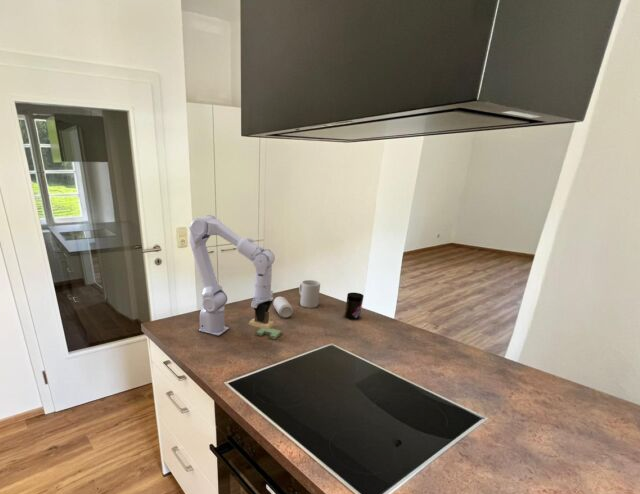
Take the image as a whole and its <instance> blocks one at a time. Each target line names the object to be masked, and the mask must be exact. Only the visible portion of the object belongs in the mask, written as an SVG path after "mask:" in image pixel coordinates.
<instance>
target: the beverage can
mask: <svg viewBox="0 0 640 494" xmlns="http://www.w3.org/2000/svg"><path fill="white" fill-rule="evenodd" d="M272 304H273V307H274V309H275V310H276V312H277V313H278V315H279V316H280V317H281V318H283V319H287V318H289V317H291V316H292V315H293V313H294V308H293V306H292V305H291V304H290V302H289V301H288V300H287V298H286V297H284V296H282V295H281V296H277V297H274V299H273V301H272Z"/></svg>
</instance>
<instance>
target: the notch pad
mask: <svg viewBox="0 0 640 494" xmlns="http://www.w3.org/2000/svg"><path fill="white" fill-rule="evenodd" d="M255 334H256V336H258V337H259V336H260V337H263V336H264V335H268V336H269V339H271V340H276V339H277V338H279V336H280V335H281V334H282V330H279V329H274V328H272V327H271V328H269V329H265V328H260V329H258V330H257V331H256V333H255Z"/></svg>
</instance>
